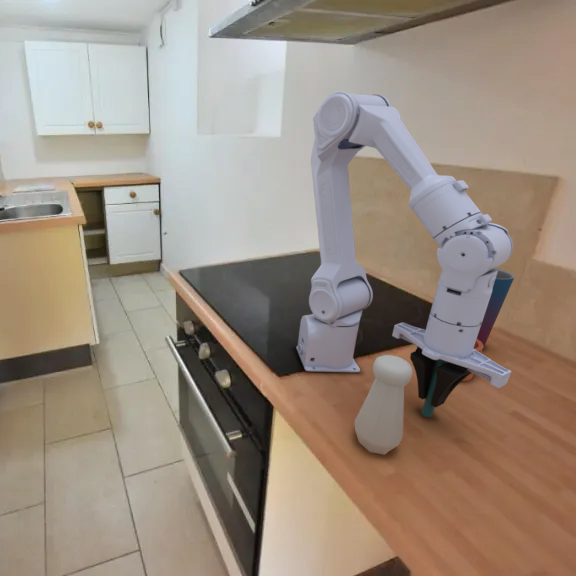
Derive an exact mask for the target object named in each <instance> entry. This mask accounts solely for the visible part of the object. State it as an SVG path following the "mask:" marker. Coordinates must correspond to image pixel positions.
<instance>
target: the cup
mask: <svg viewBox="0 0 576 576" xmlns="http://www.w3.org/2000/svg"><path fill="white" fill-rule="evenodd" d="M492 270H498V273H497V276H496V279H495V282H494V285H493V289H492V294H491V297H490V300H489V303H488V306H487V309H486V312H485V315H484V318H483V321H482V324H481V327H480V330H479V333H478V336H477V339H478V340H480V341H481V342H482V344H483V349H484V348H485V346H486V344H487V341H488V339H489V337H490V334H491V332H492V330H493V329H494V328H493V327H494V325H495V323H496V320H497V319H498V316H499V314H500V312H501V309H502V307H503V304H504V303H505V301H506V299H507V295H508V293H509V291H510V289H511V287H512V284H513V282H514V279H515V275H514V273H512V272H510V271H507V270H505V269H504V270H503V269H500V268H494V269H492ZM490 271H491V270H490Z"/></svg>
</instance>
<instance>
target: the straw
mask: <svg viewBox="0 0 576 576" xmlns="http://www.w3.org/2000/svg"><path fill="white" fill-rule="evenodd" d="M445 363H448V362H447V361H444V360H441V359H438V360H436V364H435V367H434V371H433V374H432V377H431V381H430V384H429V388H428V391H427V395H426V398H425V399H424V402H423V405H422V408H421V412H420V413H421V415H422V416H423V417H426V418H433V415H434V411H435V408H436V407H434V406H432V405H431V400H432V397H433V394H434V391H435V387H436V379H437V373H436V369H437V367H438V366H441V365H443V364H445Z"/></svg>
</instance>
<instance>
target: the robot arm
mask: <svg viewBox="0 0 576 576" xmlns="http://www.w3.org/2000/svg"><path fill="white" fill-rule="evenodd" d="M312 121H313V132H314V141H313V145H312V150H311V156H310V167H311V176H312V186H313V194H314V205H315V206H314V207H315V217H316V226H317V227H316V228H317V235H318V247H319V255H320V266H319V267H318V269H317V270H316V271H315V273H314V274H313V276H312V277H311V279H310V284H311V289H310V294H309V296H308V305H309V309H310V310H311V312H312V313H311V314H305V315H302V316H301V319H300V323H299V331H298V339H297V345H296V347H295V348H296V351H297V354H298V357H299V358H300V361H301V364H302V366H303V368H304V370H305V371H306V372H317V373H319V372H320V373H321V372H322V373H360V372H361V368H360V367H359V365H358V363H357V362H356V360H355V359H354V354H355V349H356V343H357V337H358V333H359V327H360V323H361V322H360V321H361V317H362V315H363V311H364V310H366V309H367V308H368V307H370V305H371V304H372V302H373V297H374V293H373V288H372V286H371V285H370V282H369V281H368V278H367V271H366V269H365V268H364V266H362V265H361V264H360V263H359V262H358V261H357V259H356V258H357V257H356V256H357V255H356V247H355V235H354V222H353V213H352V212H353V211H352V199H351V188H350V187H351V186H350V177H349V176H350V175H349V164H350V163H351V162H352V160H353V159H354V158H355V157H356V155H357V154H359V152H360V151H362V150H363V149H364V148H365V147H370V148H374V149H376V150H377V151H378V153H379V154H380V155H381V156H382V158H383V159H384V160H385V161H386V162H387V163H388V165H389V166H390V167H391V168H392V170H393V171H394V172H395V173H396V174H397V176H398V177H399V178H400V179H401V180H402V182H403V183H404V184H405V185H406V186H407V188H409V190H410V195H409V199H408V206H409V207H410V209H411V211H412V212H413V213H414V214H415V216H416V217H417V218H418V220H419V221H420V222H421V224H422V225H423V226H424V228H425V229H426V231H427V232H428V234H429V235H430V236H431V238H432V239H433V240H434V241H435V244H437V245H438V246H439V247H438V248H437V249H436V258H437V263H438V265H439V266H440V268H441V273H440V276H439V280H438V282H437V287H436V289H435V292H434V293H435V294H434V297H433V301H432V305H431V307H430V312H429V316H428V319H427V324H426V327H425V329H424V328H420V327H416V326H414V325H411V324H408V323H406V322H400V323H397V324H394V326H393V330H392V334H391V336H392V337H393V338H395V339H397V340H399V339H402V340H404V341H406V342H408V343H410V344H413V345H414V346H416V349H415V350H414V351H412V352H411V353H410V356H409V359H410V362H411V363H412V365H413V368H414V371H415V376H416V380H417V381H416V382H417V392H418V393H417V395H418V398H419V399H420V400H425V398H426V395H427V391H428V388H429V384H430V381H431V377H432V374H433V371H434V367H435V364H436V360H438V359H441V360H444V361H447V362H448V363H445V364H443V365H441V366H438V367H437V369H436V373H437V379H436V387H435V391H434V394H433V397H432V400H431V405H432V406H434V407H435V408H438V407H441V406H442V405H444V404H445V402H446V400H447V399H448V397H449V396H450V394H451V393H452V392H453V391H454V390H455V388H456V387H457V386H458V385H459V384H460V383H461V382H463V381H462V380H463V379H465V378H466V377H467V376H468V375H470V374H471V373H474V375H476V376H477V377H480V378H482V379H485V380H486V381H488V382H489V384H490V385H491V386H492V387H495V388H497V389H500V388H502V387H504V386H506V385H507V384H508V382H509V379H510V376H511V375H512V370H511V369H508V368H506V367H504V366H502V365H500V364H498V363H497V362H495V361H494V360H492V359H491V358H489V357H487V356H486V355H484V354H483V353H482V352H481V353H480V352H478V351H477V350H475V349H474V345H475V342H476V339H477V336H478V333H479V330H480V327H481V324H482V321H483V318H484V315H485V312H486V309H487V306H488V303H489V300H490V297H491V294H492V289H493V285H494V282H495V279H496V276H497V273H498V270H492V269H494V268H496V269H498V267H500V266H502V265H503V264H505V263H506V262H507V261H508V260H509V259H510V257H511V256H512V254H513V249H514V243H513V239H512V237H511V236H510V233H509V230H508V229H507V227H504V226H502V225H500V224H498V223H494V222H492V221H493V219H492V218H491V216H490V214H488V213H485V214H483V212H482V211H481V210H480V209H479V207H478V206H477V205H476V203H475V202H474V201H473V200H472V198H471V197H470V196H469V195H468V193H467V192H466V191H467V190H468V189H469V185H468V184H467V182H466V181H465V180H463V179H462V180H461V179H460V180H457V179H456V178H455V177H454V176H452V175H441V174H438V173H437V172H436V170H435V169H434V167H433V166H432V164H431V163H430V161H429V160H428V158H427V157H426V155H425V154H424V152H423V150H422V149H421V148H420V146H419V145H418V143H417V141H416V140H415V139H414V137H413V135H412V134H411V133H410V131H409V129H408V128H407V127H406V125H405V123H404V122H403V121H402V118H401V114H400V111H399V110H398V109H397V108H396V107H394V106H392V104H391V102H390V100H389V98H387V97H386V96H384V95H383V94H379V93H378V94H377V93H375V94H374V93H373V94H362V93H350V92H348V91H342V90H341V91H335V92H333V93H331V94H329V95H328V96H327V97H326V98H325V99H324V100H323V102H322V104H321V105H320V106H319V107H318V109H317V111H316V113H315V114H314V116H313V117H312ZM490 270H491V271H490Z"/></svg>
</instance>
